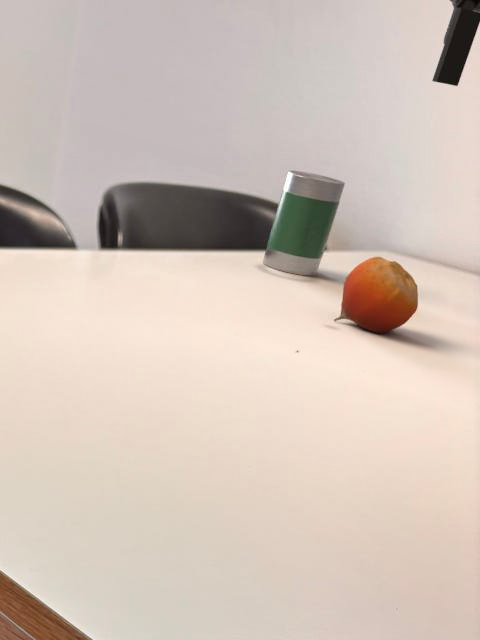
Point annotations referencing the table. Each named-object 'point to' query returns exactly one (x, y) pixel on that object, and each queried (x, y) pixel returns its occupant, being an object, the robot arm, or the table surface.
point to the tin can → (303, 223)
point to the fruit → (379, 295)
